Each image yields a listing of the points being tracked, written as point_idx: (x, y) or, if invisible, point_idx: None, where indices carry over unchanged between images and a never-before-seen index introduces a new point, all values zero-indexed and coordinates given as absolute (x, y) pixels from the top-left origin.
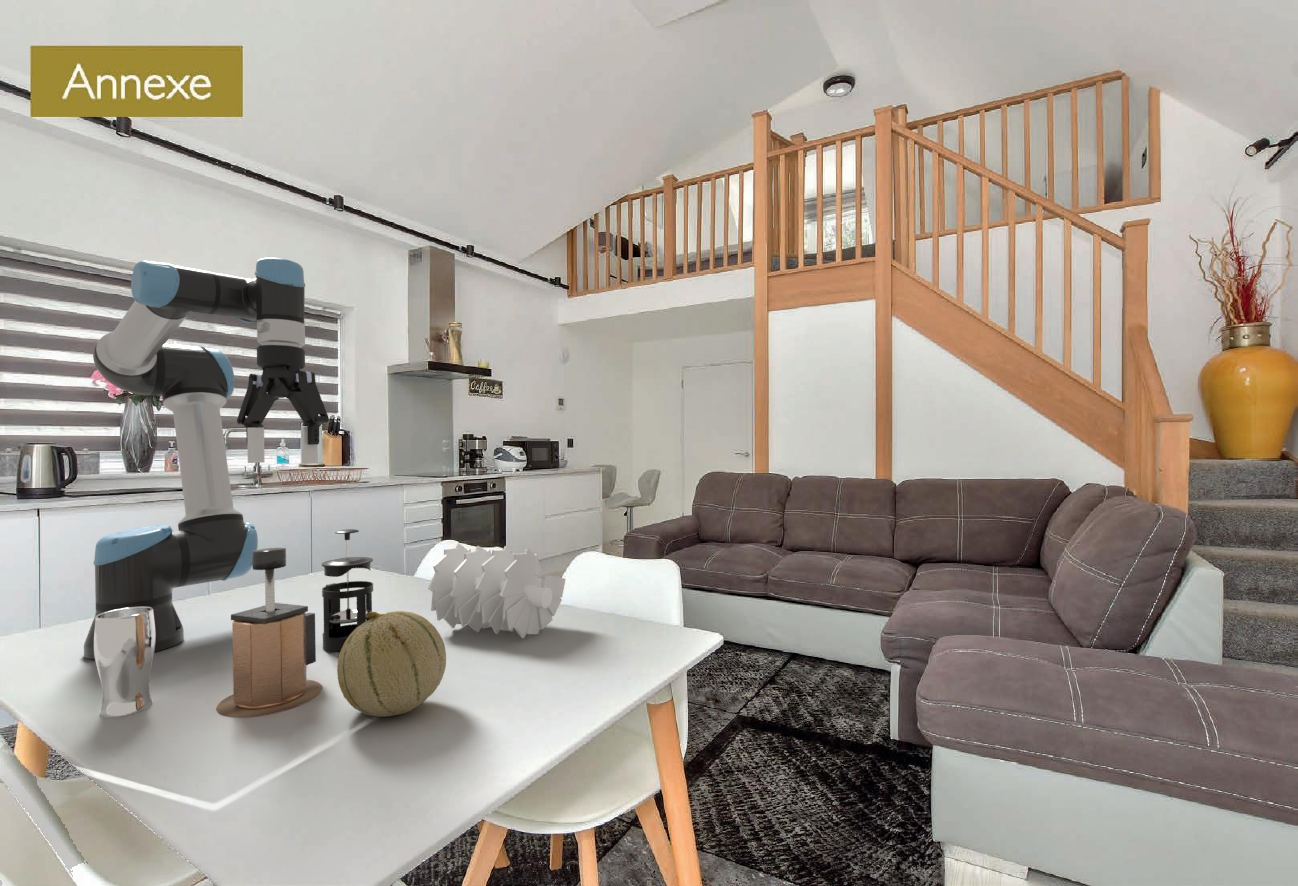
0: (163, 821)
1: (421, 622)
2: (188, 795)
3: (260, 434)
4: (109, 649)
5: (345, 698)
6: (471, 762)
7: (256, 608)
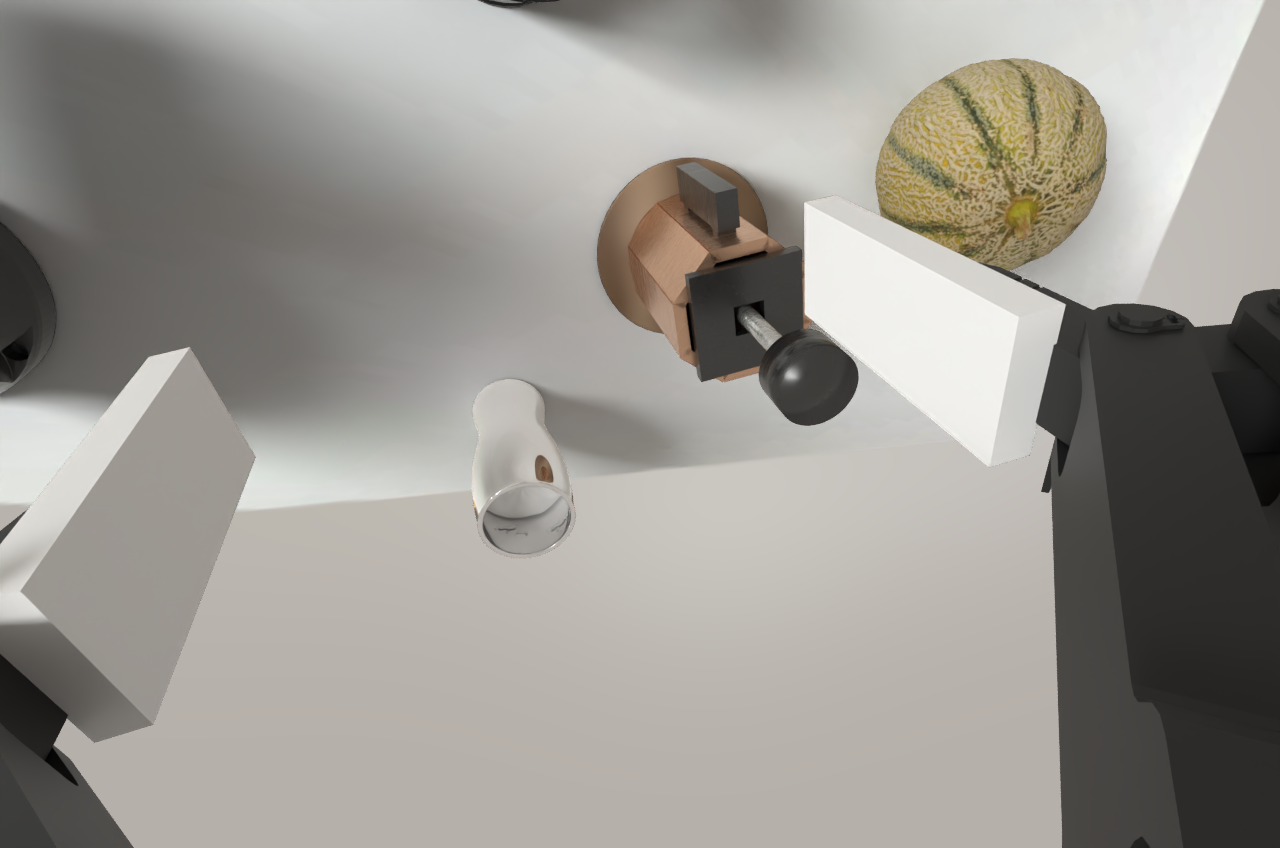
0: (868, 446)
1: (1103, 154)
2: (846, 420)
3: (104, 559)
4: (554, 506)
5: None
6: (1111, 200)
7: (701, 329)
